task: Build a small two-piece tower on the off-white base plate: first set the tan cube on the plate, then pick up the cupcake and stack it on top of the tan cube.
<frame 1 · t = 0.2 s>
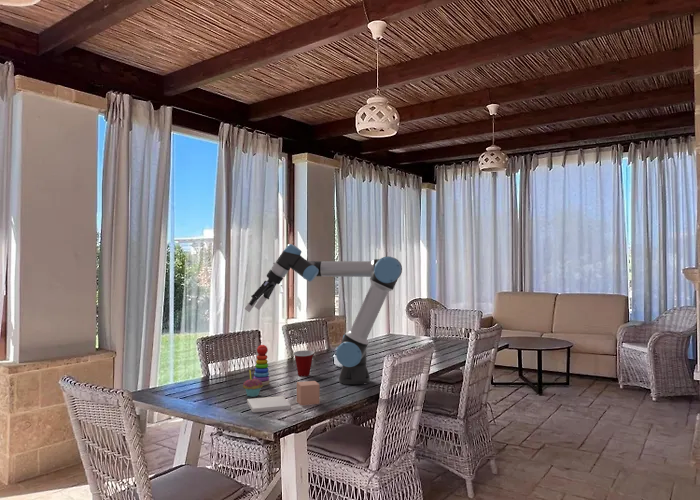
hand: (252, 309, 250), 36 cm above the table, tool tilted 35°, fingers open, 13 cm apart
cupcake: (252, 395, 229), on the table
plastic cup: (303, 375, 269), on the table
base plate: (268, 405, 212), on the table
tan cube: (307, 402, 217), on the table
stacking toy: (261, 384, 249), on the table
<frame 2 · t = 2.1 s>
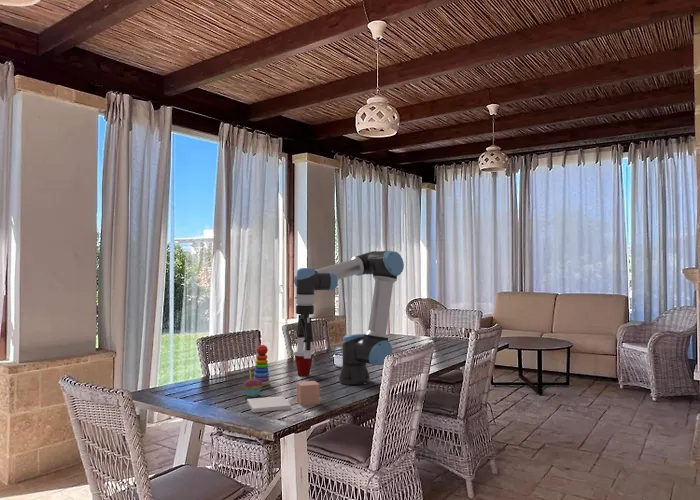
hand: (303, 355, 219), 19 cm above the table, tool pointing down, fingers open, 13 cm apart
nothing on the table moved.
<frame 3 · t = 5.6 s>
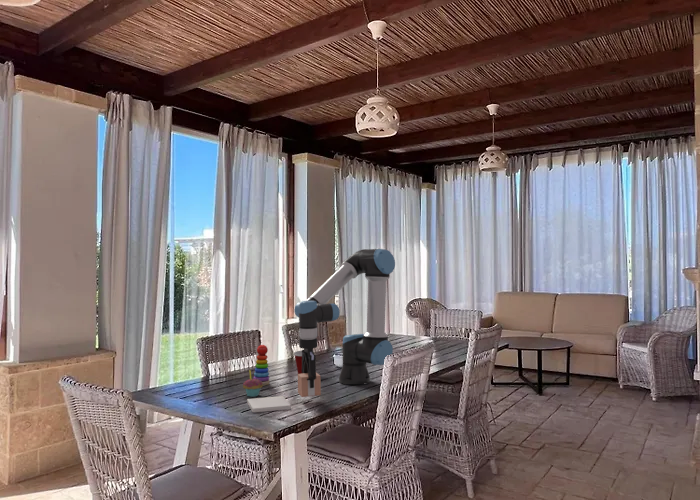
hand: (308, 393, 218), 4 cm above the table, tool pointing down, fingers closed on tan cube, 7 cm apart
tan cube: (309, 394, 218), point 3 cm above the table, touching gripper
everything else where it was.
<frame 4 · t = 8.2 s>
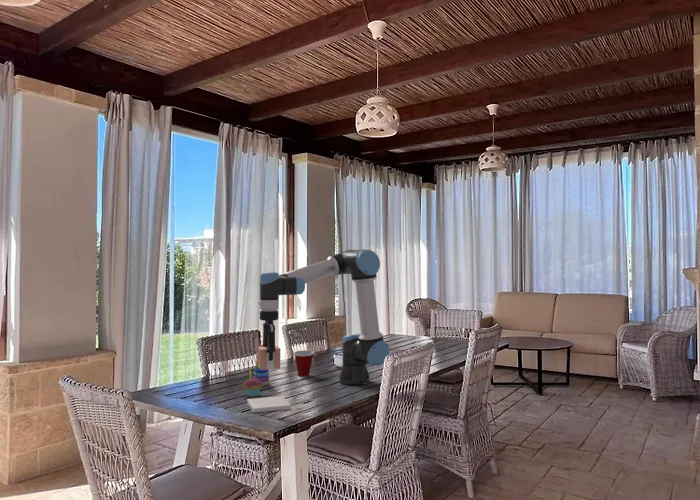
hand: (268, 366, 212), 16 cm above the table, tool pointing down, fingers closed on tan cube, 7 cm apart
tan cube: (268, 367, 212), point 15 cm above the table, touching gripper
everything else where it was.
when the fingers open (3 cm above the table, at t = 10.8 s): tan cube stays where it is, resting on base plate.
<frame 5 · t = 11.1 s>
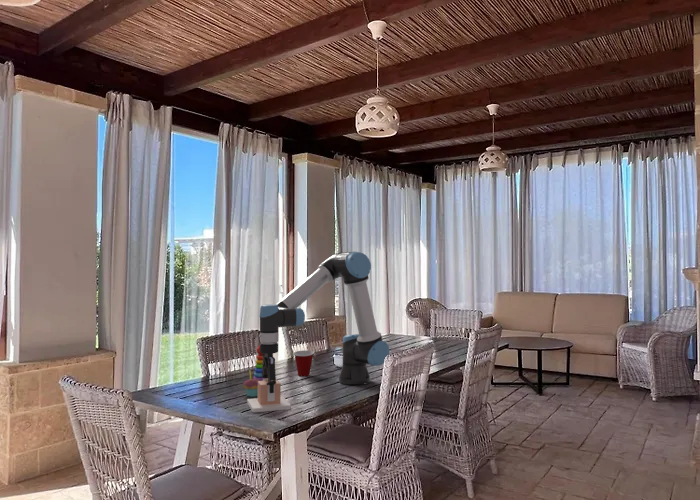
hand: (268, 397, 212), 3 cm above the table, tool pointing down, fingers open, 10 cm apart
tan cube: (268, 402, 212), point 1 cm above the table, touching base plate
everything else where it was.
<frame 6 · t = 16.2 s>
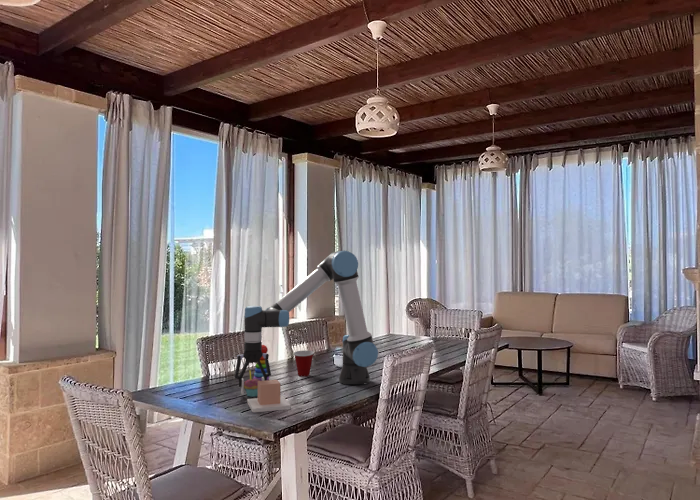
hand: (252, 393, 229), 1 cm above the table, tool pointing down, fingers closed on cupcake, 8 cm apart
cupcake: (252, 395, 229), on the table, touching gripper
everything else where it was.
when the fingers open (12 cm above the table, at t = 21.7 s): cupcake drops 1 cm, resting on tan cube.
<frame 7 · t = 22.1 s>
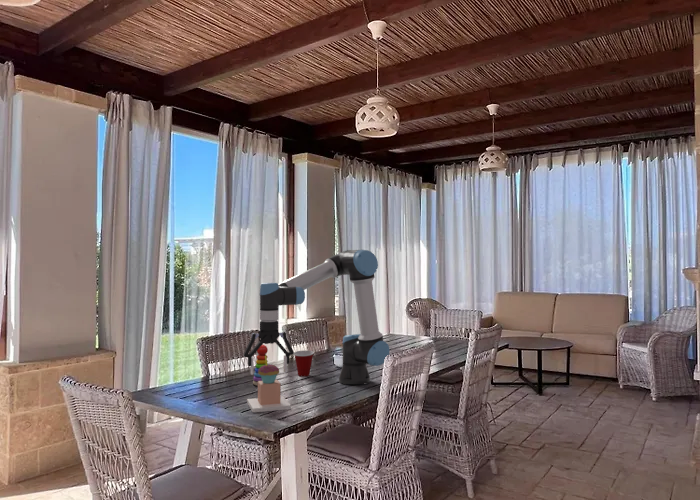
hand: (268, 373, 212), 13 cm above the table, tool pointing down, fingers open, 13 cm apart
cupcake: (268, 382, 212), point 9 cm above the table, touching tan cube
tan cube: (268, 402, 212), point 1 cm above the table, touching base plate, cupcake
everything else where it was.
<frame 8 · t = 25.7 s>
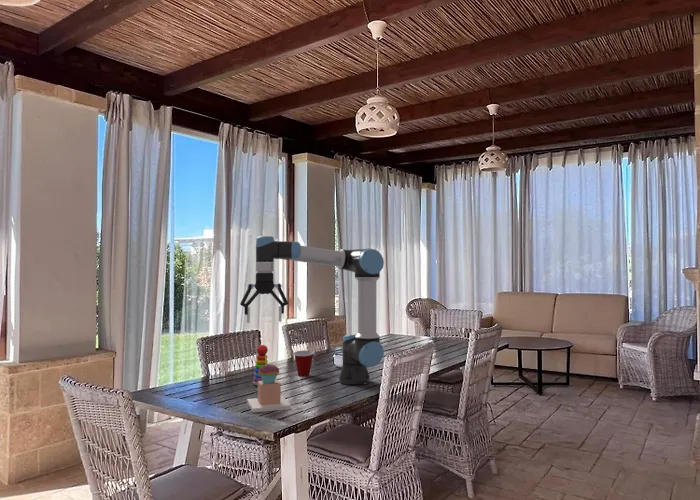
hand: (264, 322, 223), 33 cm above the table, tool pointing down, fingers open, 13 cm apart
nothing on the table moved.
at the end: tan cube 0.2 cm off-centre on the base plate, point 1.5 cm above the base plate's base; cupcake 0.2 cm off-centre on the tan cube, point 7.8 cm above the tan cube's base; cupcake tilted 0° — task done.
